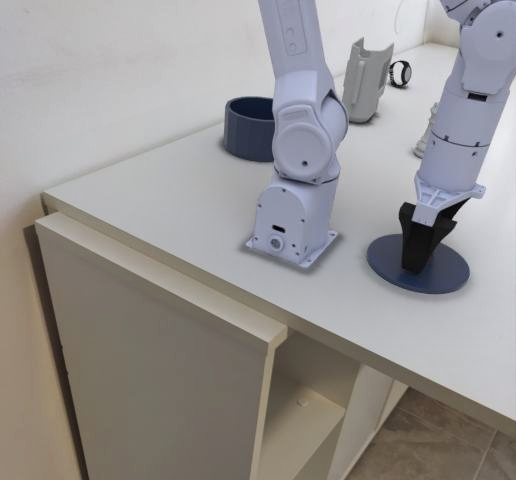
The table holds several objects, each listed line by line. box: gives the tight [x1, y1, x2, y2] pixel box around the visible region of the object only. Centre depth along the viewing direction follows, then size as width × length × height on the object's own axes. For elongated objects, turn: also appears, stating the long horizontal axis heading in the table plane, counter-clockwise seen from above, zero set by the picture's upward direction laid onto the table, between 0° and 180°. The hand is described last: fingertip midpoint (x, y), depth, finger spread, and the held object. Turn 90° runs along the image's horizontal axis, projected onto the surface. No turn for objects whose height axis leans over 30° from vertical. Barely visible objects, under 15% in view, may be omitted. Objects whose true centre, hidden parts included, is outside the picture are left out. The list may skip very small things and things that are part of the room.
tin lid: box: [366, 233, 471, 295], centre depth 60 cm, size 12×12×5 cm
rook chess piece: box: [413, 101, 439, 159], centre depth 85 cm, size 4×4×8 cm
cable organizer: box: [341, 36, 395, 123], centre depth 96 cm, size 7×12×12 cm, turn 157°
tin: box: [222, 95, 275, 162], centre depth 82 cm, size 11×11×6 cm
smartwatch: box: [388, 60, 413, 88], centre depth 115 cm, size 4×5×5 cm
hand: (419, 256), depth 60 cm, fingers open, 6 cm apart
